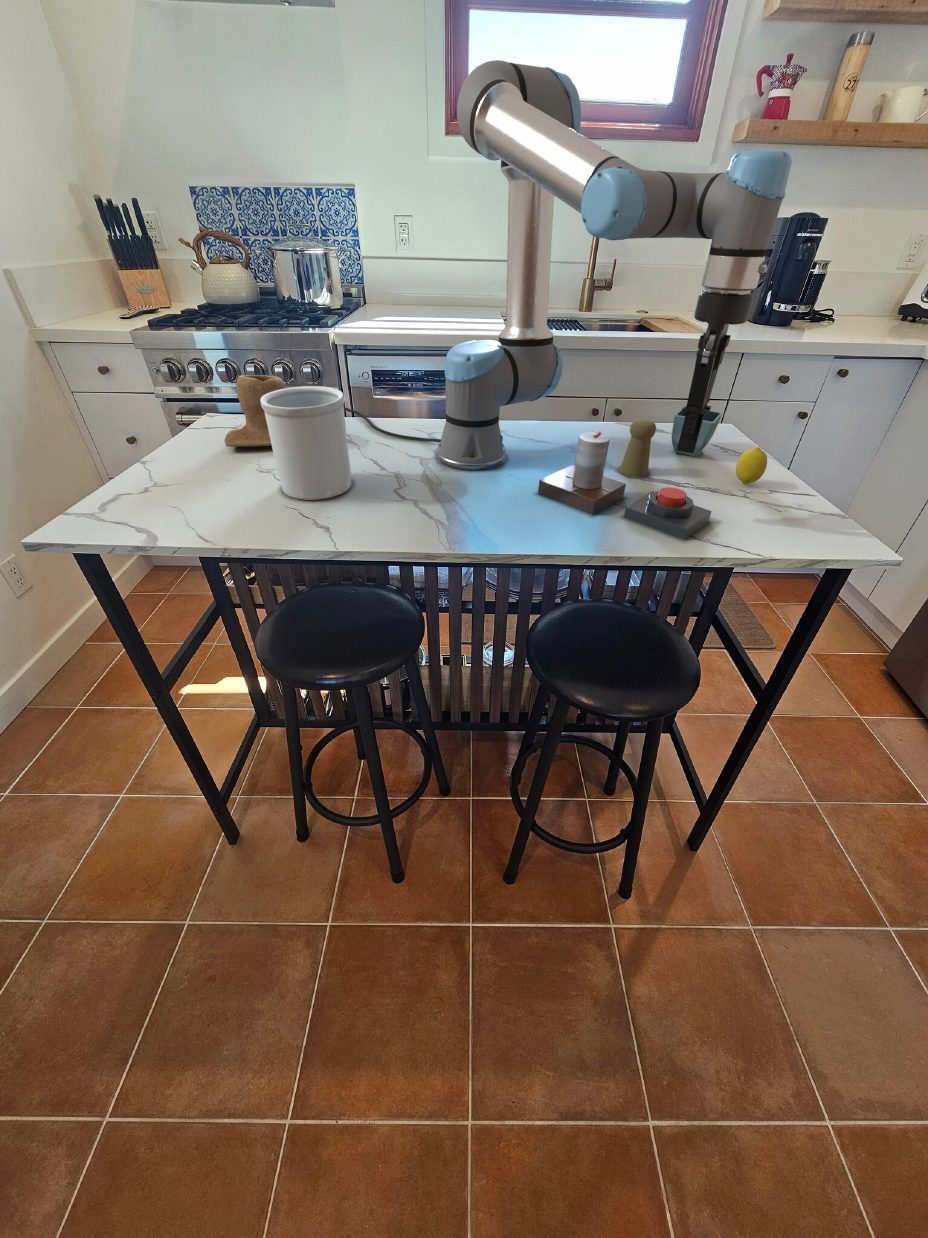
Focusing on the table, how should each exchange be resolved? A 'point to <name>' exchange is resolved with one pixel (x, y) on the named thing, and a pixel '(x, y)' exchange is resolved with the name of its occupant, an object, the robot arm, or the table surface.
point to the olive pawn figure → (638, 448)
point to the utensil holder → (309, 440)
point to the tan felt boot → (253, 410)
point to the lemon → (751, 465)
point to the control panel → (580, 491)
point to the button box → (667, 515)
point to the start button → (672, 496)
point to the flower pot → (705, 433)
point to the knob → (590, 460)
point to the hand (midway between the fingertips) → (685, 450)
